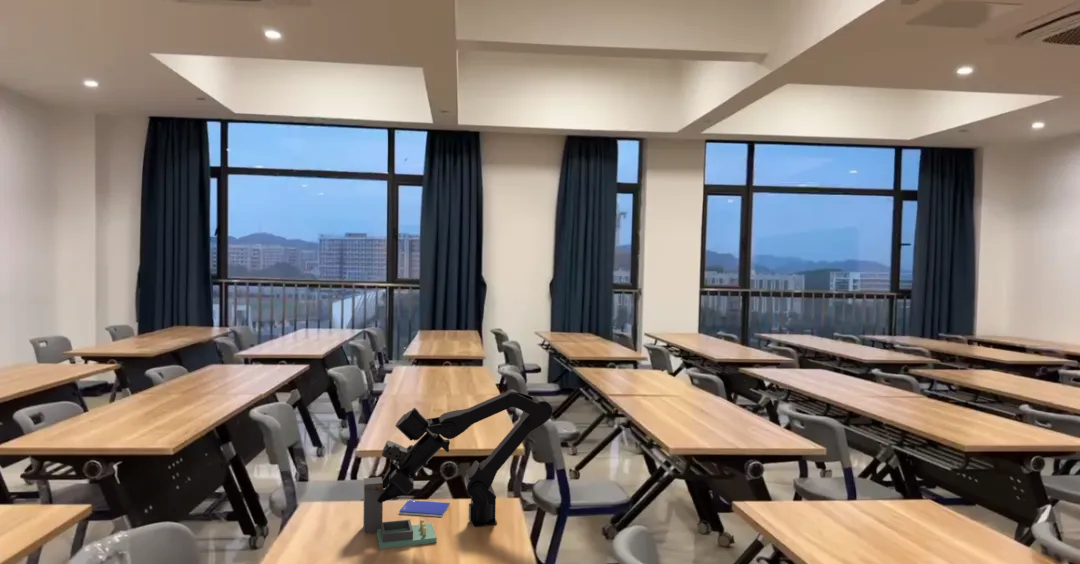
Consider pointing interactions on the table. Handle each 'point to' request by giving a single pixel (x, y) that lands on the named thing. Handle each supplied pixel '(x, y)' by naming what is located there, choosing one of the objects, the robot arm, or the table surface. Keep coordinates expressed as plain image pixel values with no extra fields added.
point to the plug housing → (372, 504)
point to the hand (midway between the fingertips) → (378, 494)
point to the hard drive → (424, 508)
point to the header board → (405, 534)
